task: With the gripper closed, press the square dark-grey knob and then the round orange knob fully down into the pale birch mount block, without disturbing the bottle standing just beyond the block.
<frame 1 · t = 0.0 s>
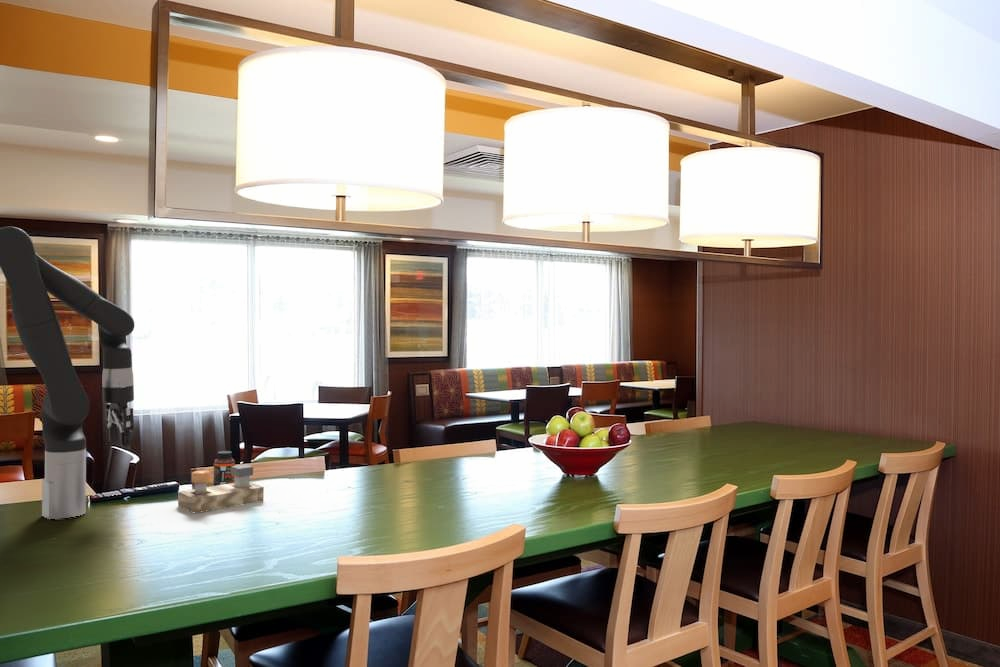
hand: (119, 443, 202), 17 cm above the table, tool pointing down, fingers open, 8 cm apart
supplement bottle: (223, 489, 224), on the table
square knob: (242, 477, 212), point 6 cm above the table, slide at 0.0 cm
mount: (221, 503, 208), on the table
round knob: (200, 484, 203), point 6 cm above the table, slide at 0.0 cm
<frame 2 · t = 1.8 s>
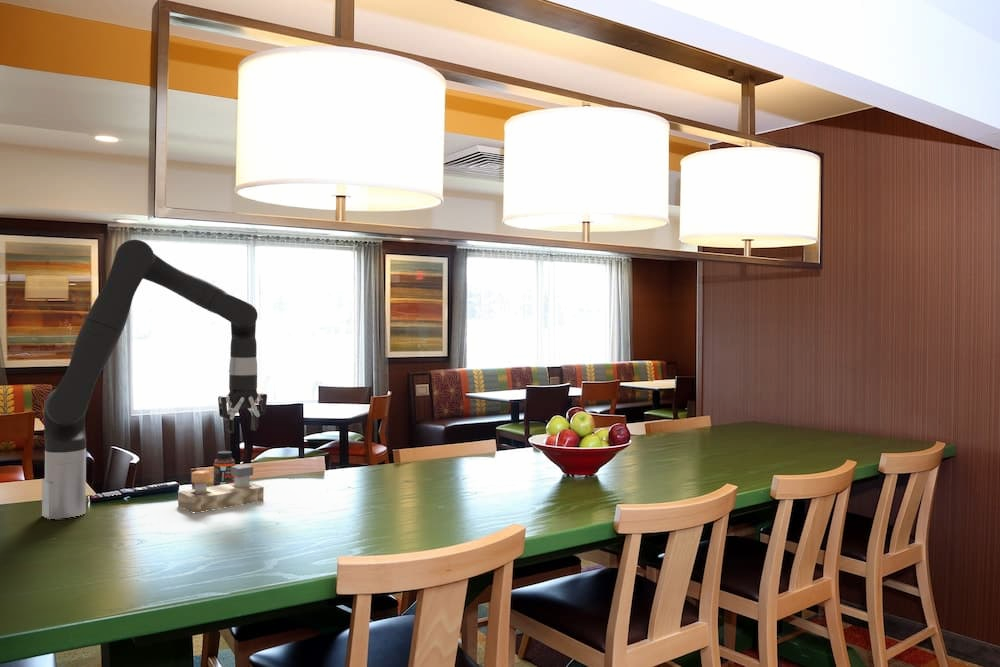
hand: (242, 431, 212), 20 cm above the table, tool pointing down, fingers open, 6 cm apart
nothing on the table moved.
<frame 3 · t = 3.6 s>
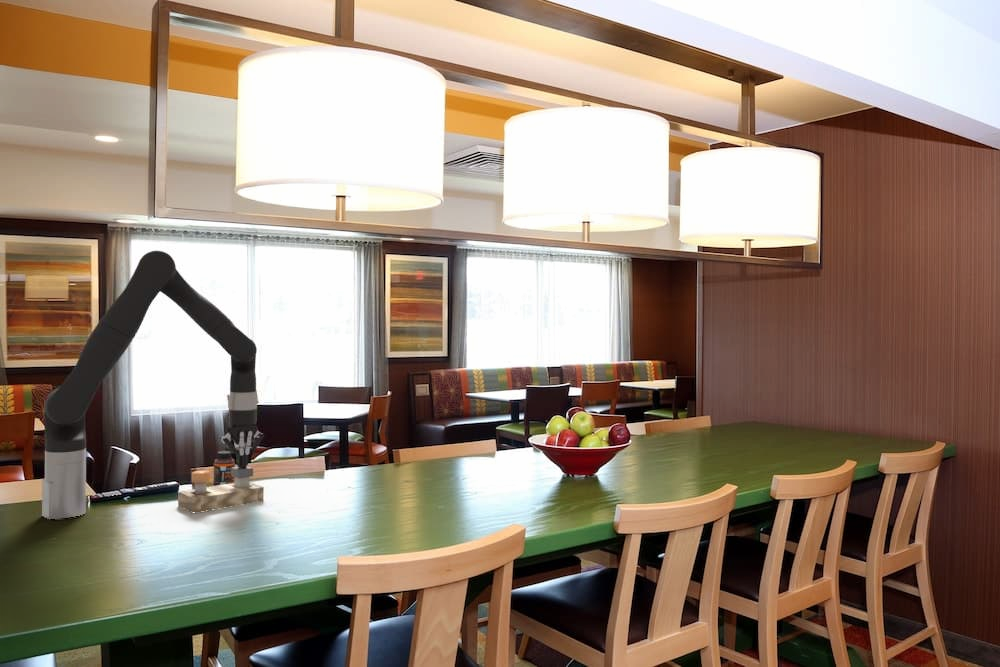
hand: (242, 467, 212), 9 cm above the table, tool pointing down, fingers closed
square knob: (242, 478, 212), point 6 cm above the table, slide at 0.4 cm, touching gripper
everything else where it was.
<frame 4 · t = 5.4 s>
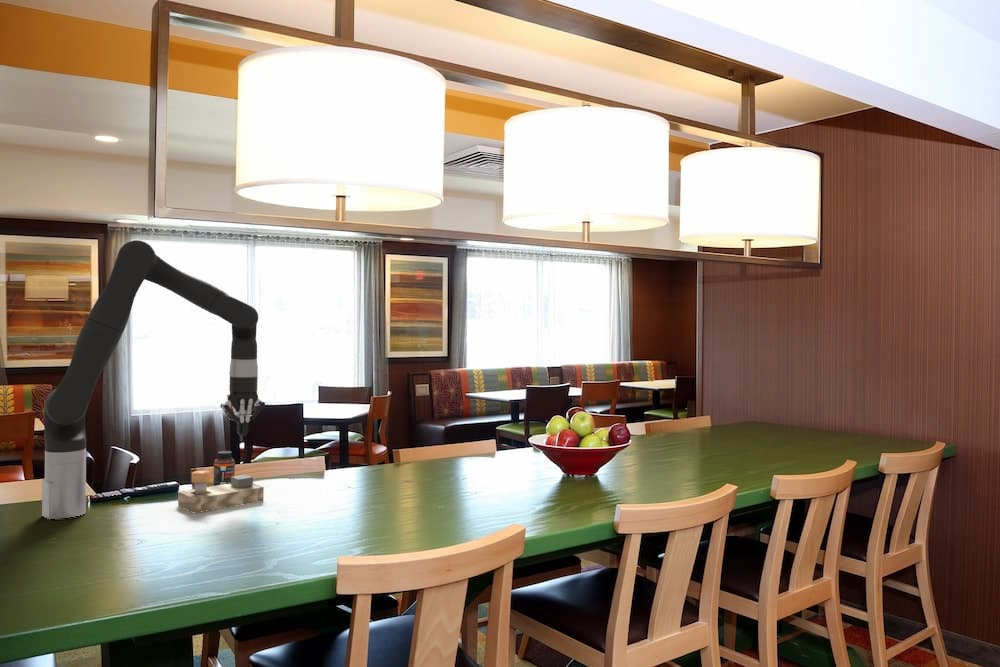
hand: (242, 435, 212), 19 cm above the table, tool pointing down, fingers closed
square knob: (241, 488, 212), point 3 cm above the table, slide at 3.0 cm
everything else where it was.
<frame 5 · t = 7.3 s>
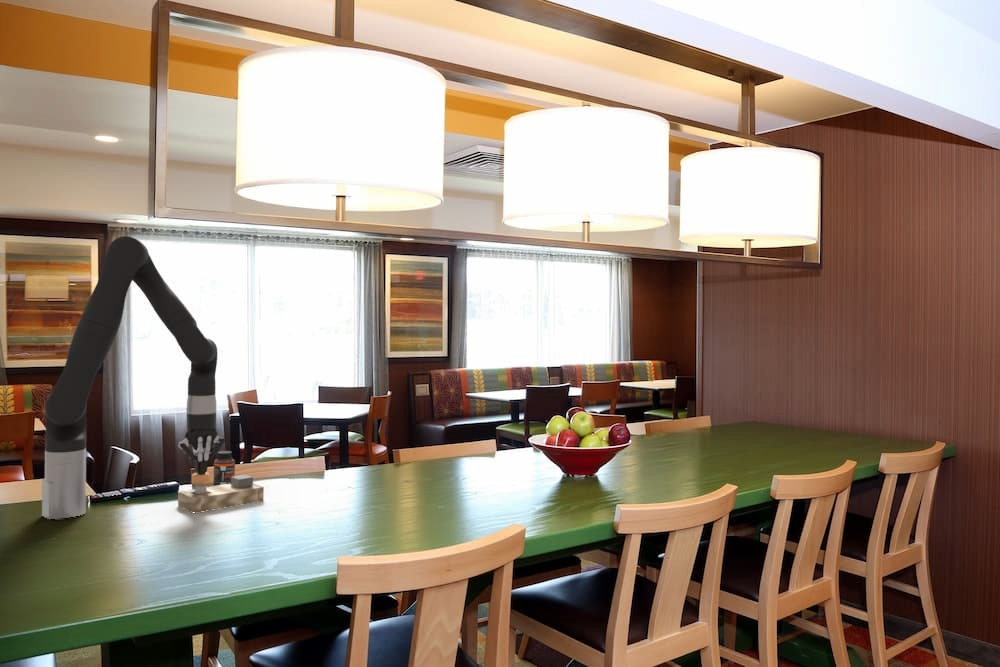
hand: (201, 474, 203), 9 cm above the table, tool pointing down, fingers closed
round knob: (200, 485, 203), point 6 cm above the table, slide at 0.5 cm, touching gripper
everything else where it was.
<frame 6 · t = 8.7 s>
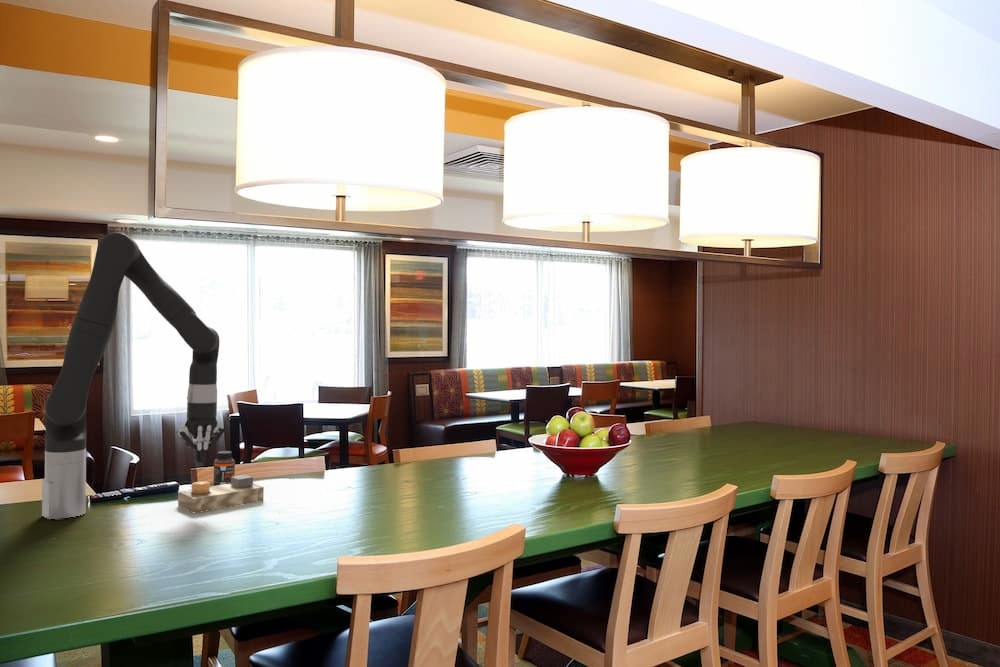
hand: (200, 463, 203), 12 cm above the table, tool pointing down, fingers closed
round knob: (200, 494, 203), point 3 cm above the table, slide at 3.0 cm
everything else where it was.
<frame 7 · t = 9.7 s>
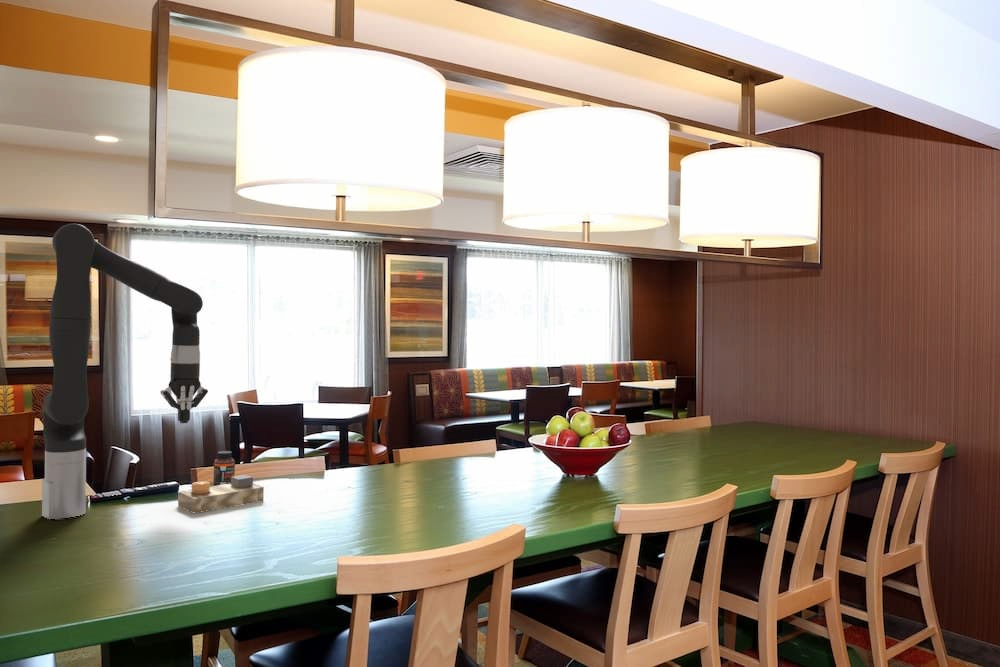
hand: (183, 422, 209), 22 cm above the table, tool pointing down, fingers closed
nothing on the table moved.
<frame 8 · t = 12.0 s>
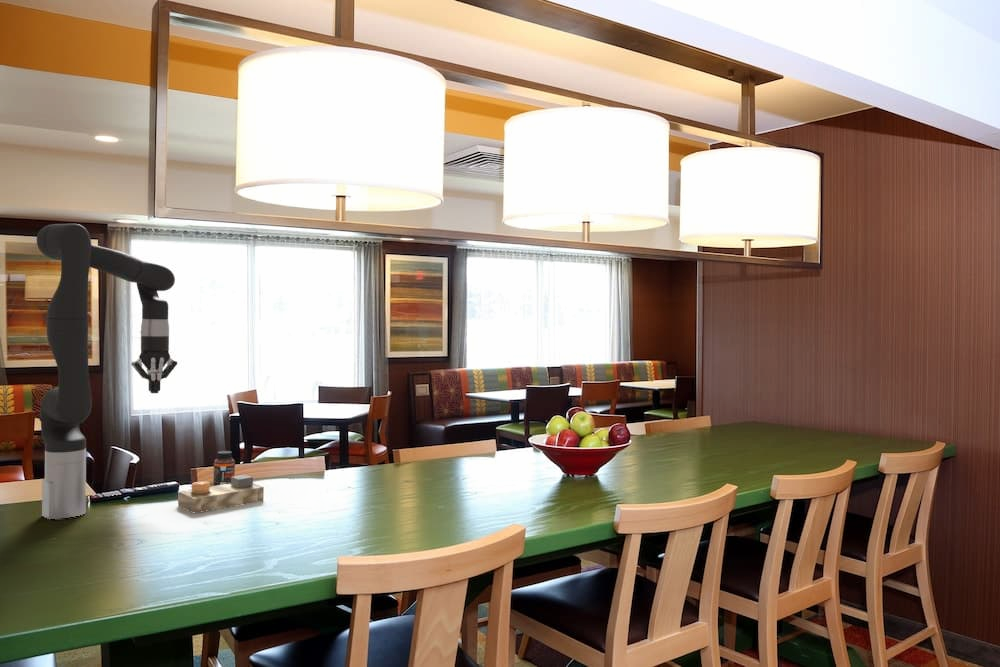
hand: (154, 393, 220), 29 cm above the table, tool pointing down, fingers closed
nothing on the table moved.
at the end: square knob slide at 3.0 cm; round knob slide at 3.0 cm; supplement bottle moved 0.2 cm from its start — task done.
